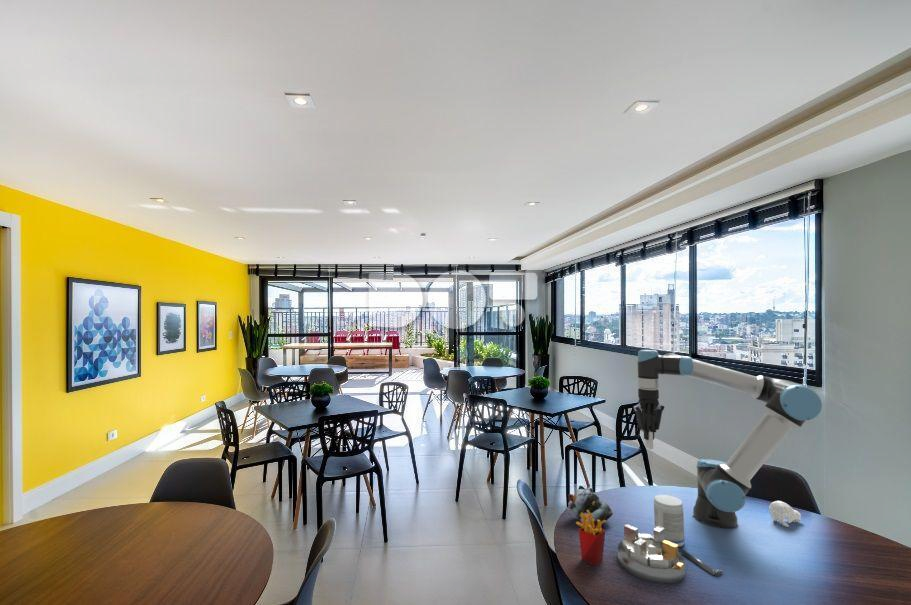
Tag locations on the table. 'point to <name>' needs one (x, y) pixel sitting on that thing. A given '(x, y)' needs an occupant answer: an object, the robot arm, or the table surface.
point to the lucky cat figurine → (589, 505)
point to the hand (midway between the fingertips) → (649, 447)
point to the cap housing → (646, 571)
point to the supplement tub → (670, 517)
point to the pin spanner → (702, 564)
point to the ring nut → (638, 548)
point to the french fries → (591, 539)
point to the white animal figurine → (783, 513)
